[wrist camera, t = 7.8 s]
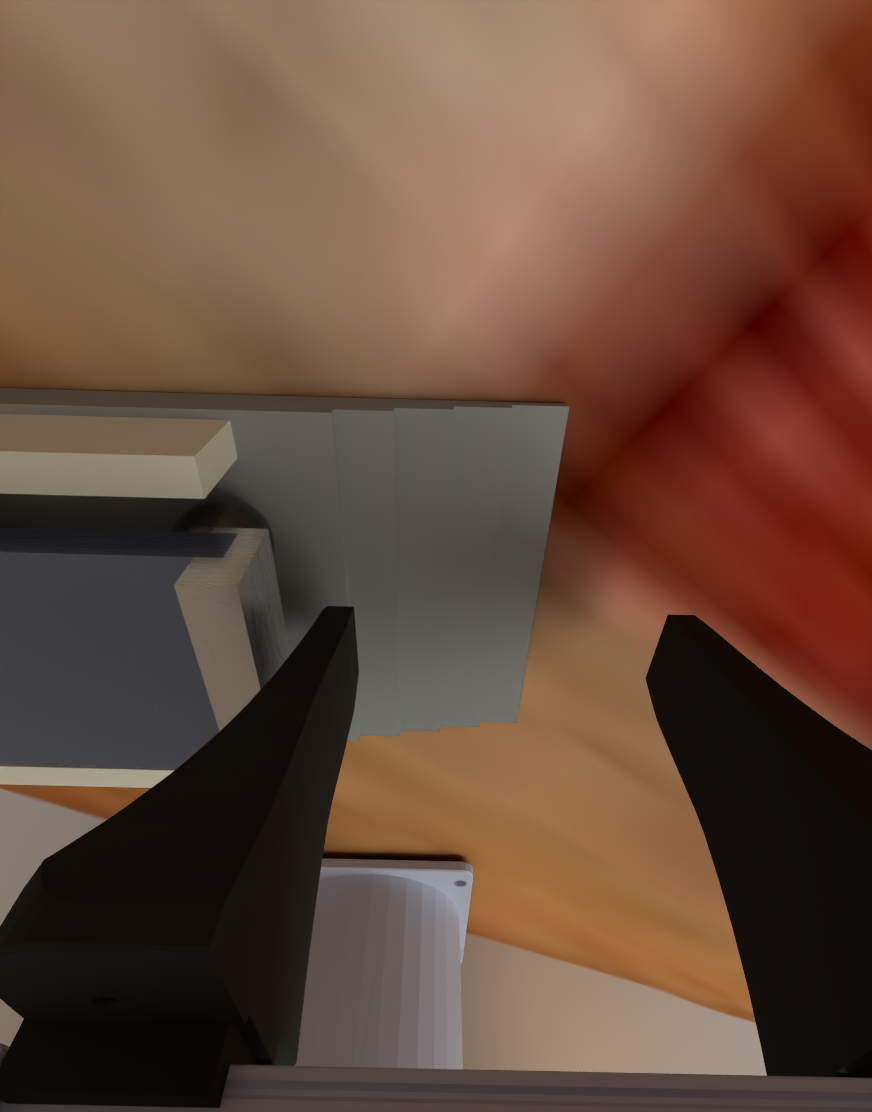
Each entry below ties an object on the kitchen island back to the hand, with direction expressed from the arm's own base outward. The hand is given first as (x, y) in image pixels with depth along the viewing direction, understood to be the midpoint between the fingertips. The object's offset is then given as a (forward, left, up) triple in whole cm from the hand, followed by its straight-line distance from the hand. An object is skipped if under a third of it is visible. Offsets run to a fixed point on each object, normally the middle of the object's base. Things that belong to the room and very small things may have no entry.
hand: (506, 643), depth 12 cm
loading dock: (0, +7, -2) cm, 7 cm away
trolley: (0, +9, -1) cm, 9 cm away
